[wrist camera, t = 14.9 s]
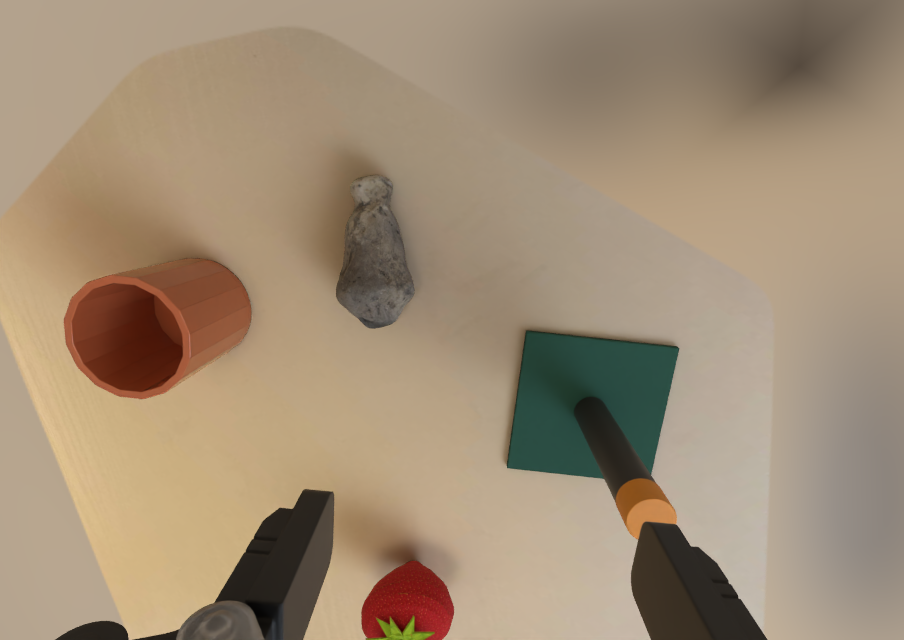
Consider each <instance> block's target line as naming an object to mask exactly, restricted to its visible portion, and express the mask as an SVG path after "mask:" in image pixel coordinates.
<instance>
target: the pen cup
mask: <svg viewBox="0 0 904 640" xmlns="http://www.w3.org/2000/svg"><path fill="white" fill-rule="evenodd" d="M250 321H251V305H250V300H249V297H248V294H247V292H246V290H245V288H244V286H243V285H242V283H241V282H240V281H239V279H238V278H237V277H236V276H235V275H234V274H233V273H232V272H231V271H229V270H228V269H227V268H225V267H224V266H222V265H220V264H218V263H216V262H213V261H210V260H206V259H200V258H192V259H188V258H187V259H182V260H177V261H172V262H168V263H163V264H159V265H154V266H149V267H145V268H140V269H136V270H131V271H126V272H122V273H117V274H112V275H109V276H105V277H102V278H99V279H96V280H93V281H90V282H88V283H86V284H85V285H84V286H83V287H82V288H81V289H80V290H79V291H78V292H77V293H76V294H75V295H74V296H73V297H72V299H71V300H70V303H69V306H68V309H67V312H66V315H65V318H64V329H65V340H66V345H67V347H68V349H69V351H70V353H71V355H72V357H73V359H74V361H75V363H76V365H77V367H78V368H79V369H80V370H81V371H82V372H83V373H84V374H85V375H86V376H87V377H88V378H89V379H90V380H91V381H92V382H93V383H94V384H95V385H97V386H98V387H101V388H103V389H105V390H107V391H109V392H111V393H113V394H115V395H117V396H120V397H129V398H138V399H146V398H149V397H153V396H156V395H160V394H163V393H166V392H167V391H169V390H170V389H172V388H174V387H175V386H177V385H178V384H180V383H181V382H183V381H184V380H186V379H188V378H189V377H191V376H192V375H194V374H195V373H197V372H198V371H200V370H202V369H203V368H205V367H206V366H208V365H209V364H211V363H212V362H214V361H216V360H217V359H219V358H220V357H222V356H223V355H225V354H226V353H228V352H229V351H230V350H231V349H233V348H234V347H235V346H237V345H238V344H239V343H240V342H241V341H242V339H243V338H244V337H245V335H246V333H247V331H248V329H249V326H250Z"/></svg>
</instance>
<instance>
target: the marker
mask: <svg viewBox="0 0 904 640" xmlns="http://www.w3.org/2000/svg"><path fill="white" fill-rule="evenodd" d="M574 415H575V418H576V420H577V422H578V424H579V426H580V428H581V431H582V433H583V435H584V437H585V439H586V441H587V443H588V445H589V447H590V449H591V452H592V454H593V456H594V458H595V460H596V462H597V464H598V466H599V468H600V470H601V473H602V475H603V477H604V479H605V481H606V483H607V485H608V487H609V489H610V491H611V494H612V496H613V498H614V500H615V502H616V505H617V508H618V510H619V512H620V514H621V517H622V519H623V521H624V523H625V525H626V527H627V529H628V531H629V533H630V534H631V535H632V536H633V537H635V538H636V539H639V535H640V530H641V527H642V524H643V523H644V522H646V521H647V522H658V523H669V524H676V521H677V516H676V512H675V510H674V508H673V507H672V505H671V504H670V502H669V500H668V499H667V497H666V496H665V494H664V493H663V491H662V490H661V488H660V487H659V486H658V485H657V484H656V482H655V481H654V479H653V478H652V476H651V474H650V473H649V471H648V470H647V468H646V467H645V465H644V464H643V462H642V461H641V459H640V458H639V456H638V454H637V453H636V451H635V450H634V448H633V447H632V445H631V444H630V442H629V441H628V439H627V437H626V436H625V434H624V433H623V431H622V430H621V428H620V427H619V425H618V424H617V422H616V421H615V419H614V417H613V416H612V414H611V413H610V411H609V410H608V408H607V407H606V405H605V404H604V402H603V401H602V400H600V399H599V398H596V397H586V398H584V399H582V400H580V401H579V402H578V403H577V405H576V407H575V410H574Z"/></svg>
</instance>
